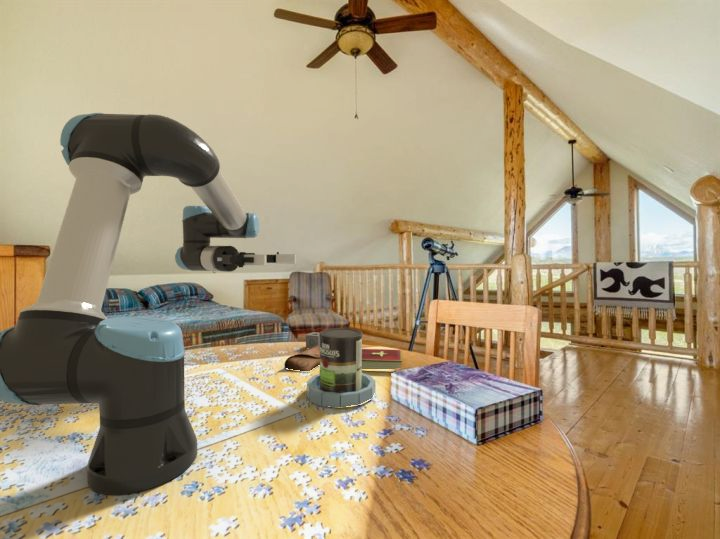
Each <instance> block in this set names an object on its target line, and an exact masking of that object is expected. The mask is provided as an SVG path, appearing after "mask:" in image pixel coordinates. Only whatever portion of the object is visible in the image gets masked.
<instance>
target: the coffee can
mask: <svg viewBox="0 0 720 539" xmlns="http://www.w3.org/2000/svg"><path fill="white" fill-rule="evenodd" d="M318 333H319V336H320V366H319V374H320V390H322V391H325V392H334V393H346V392H355V391H358V390H361V389H362V388H361V378H362V373H363V371H362V349H363V336H364V334H363V332H362V331H360V330H359V329H354V328H349V327H348V328H346V327H343V328H341V327H340V328H339V327H335V328H329V329H328V328H327V329H324V330H321V331H320V332H318Z"/></svg>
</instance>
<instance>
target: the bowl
mask: <svg viewBox="0 0 720 539" xmlns="http://www.w3.org/2000/svg"><path fill="white" fill-rule="evenodd" d="M361 388H362V389H361V390H358V391H355V392H346V393H334V392H325V391H322V390H320V373H318V374H315V375H313V376H311V377H310V378H309V379H308V380H307V381H306V396H307V398H308V401H309V402H310V401H311V402H310V403H312V402H313V404H314V403H315V405H317V404H318V405H317V406H319V405H320V406H319V407H321V406H330V407H346V406H351V405H358V404H361V403H363V402H365V401H367V400H369V399H371V398H372V397H373V395H374V393H375V394H376V380H375V379H374V378H373V377H372V376H371V375H370V374H368V373H363V372H362V378H361Z"/></svg>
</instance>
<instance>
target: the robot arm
mask: <svg viewBox="0 0 720 539" xmlns="http://www.w3.org/2000/svg"><path fill="white" fill-rule="evenodd" d="M59 141H60V142H59V143H60V146H62V147H63V149H62V150H61V154H62V158H63V160H64V161H65V164H67V165H68V170H69V173H70V174H71V175H72V176H73V178H75V181H74V184H73V188H72V190H71V194H70V197H69V200H68V202H67V203H68V204H67V205H66V206H67V207H66V209H65V212H64V216H63V220H62V221H61V225H60V229H59V231H58V234H57V237H56V241H55V244H54V247H53V250H52V253H51V256H50V259H49V262H48V266H47V269H46V272H45V275H44V279H43V281H42V284H41V287H40V291H39V294H38V298H37V301H36V302H34V303H33V304H31V305H29V306H27V307H25V308H23V309H21V310H20V312H19V315H18V317H17V321H16V324H15V326H12V327H11V326H10V327H9V328H6V329H3V330H1V331H0V401H2V402H4V403H8V404H18V405H19V404H23V405H27V406H41V405H61V404H62V405H64V404H65V405H69V404H70V405H71V404H72V405H73V404H74V405H75V404H78V405H80V404H98V410H99V411H98V412H99V428H98V432H97V434H96V438H95V440H94V444H93V447H92V449H91V452H90V455H89V459H88V461H87V466H86V479H87V485H88V487H89V488H90V489H91V490H93V491H94V492H96V493H100V494H105V495H126V494H132V493H138V492H142V491H146V490H149V489H153V488H155V487H158V486H161V485H163V484H165V483H167V482H169V481H171V480H173V479H174V478H177V477H178V476H180V475H181V474H182V473H184V472H185V471H187V470H188V469H189V468H190V467H191V466H192V465H193V463H194V462H195V460H196V458H197V456H198V439H197V436H196V434H195V431H194V428H193V426H192V423H191V421H190V419H189V417H188V413H187V412H186V406H185V405H186V404H185V355H186V354H185V352H186V348H185V345H184V338H183V337H184V336H183V331H182V329H181V327H180V326H179V325H178V324H177V323H176V322H174V321H172V320H169V319H166V318H160V317H154V316H141V315H139V316H137V315H136V316H116V317H111V318H108V317H107V316H106V315H105V314H104V313H103V312H102V308H103V304H104V300H105V296H106V291H107V288H108V284H109V280H110V275H111V273H112V268H113V263H114V261H115V256H116V252H117V248H118V244H119V240H120V236H121V232H122V227H123V224H124V220H125V216H126V211H127V209H128V204H129V201H130V196H131V195H134V194H137V193H138V192H139V191H141V189H142V186H143V182H144V178H145V177H170V178H174V179H178V180H179V182H180V183H181V184H182V185H184V186H187V187H190V188H191V189H192V190H193V191H194V193H195V194H196V195H197V196H198V197H199V199H200V200H201V202H202V203H203V204H204V205H205V206H203V205H186V206H184V207H183V209H182V220H181V222H182V239H183V243H182V246H180V247H179V248H178V249H177V250H176V252H175V254H174V261H175V263H176V265H177V266H178V268H180V269H182V270H185V271H186V270H187V271H192V272H196V271H197V272H198V271H199V272H200V271H201V272H203V271H204V272H205V271H206V272H212V274H216V273H217V272H228V273H229V272H230V273H231V272H235V271H236V270H237V269H238V268H244V266H267V264H270V263H271V264H284V265H285V264H288V265H289V264H292V265H296V264H297V254H295V253H294V254H292V253H291V254H289V253H288V254H286V253H284V254H282V253H280V252H279V251H277V252H276V254H256V253H255V252H246V251H238V249H237V248H236V247H235V246H233V245H211V239H214V238H216V239H217V238H218V239H219V238H220V239H250V238H251V239H252V238H256V237H258V235H259V231H260V222H259V220H260V219H259V217H258V214H256V213H253V212H246V211H245V210H244V208H243V207H242V205H241V203H240V202H239V200H238V198H237V197H236V194H235V193H234V191H233V190H232V189H231V187H230V185H229V183H228V182H227V180H226V178H225V177H224V175H223V174H222V172H221V164H220V160H219V158H218V156H217V155H216V153H215V152H214V150H213V149H212V147H211V146H210V145H209V144H208V143H207V142H206V141H205V140H204V139H203V138H202V137H201V136H200V135H198V134H197V133H196V131H193V130H192V129H191V128H189V127H188V126H186V125H185V124H183V123H181V122H179V121H177V120H175V119H172V118H170V117H168V116H165V115H161V114H160V115H159V114H128V113H127V114H126V113H125V114H124V113H122V114H121V113H103V112H92V113H87V114H86V113H85V114H79V115H78V114H77V115H75V116H73V117H71V118H70V119H68V121H67V122H66V123H65V124H64V126H63V128H62V130H61V132H60V140H59Z"/></svg>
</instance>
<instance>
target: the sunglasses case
mask: <svg viewBox="0 0 720 539" xmlns="http://www.w3.org/2000/svg"><path fill="white" fill-rule="evenodd" d="M318 365H320V346H319V345H317V346H316V347H313V348H311V349H305V350H303V351H301V352H299V353H297V354H293V355H291V356H289V357H288V358H287V359H286V360H285V362H284V365H283V366H284V369H285V368H288V369H293V370H300V371H310V370H312V369H313V368H315V367H316V366H318ZM318 367H319V366H318ZM315 369H316V368H315ZM313 370H314V369H313ZM313 370H312V371H313Z"/></svg>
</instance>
